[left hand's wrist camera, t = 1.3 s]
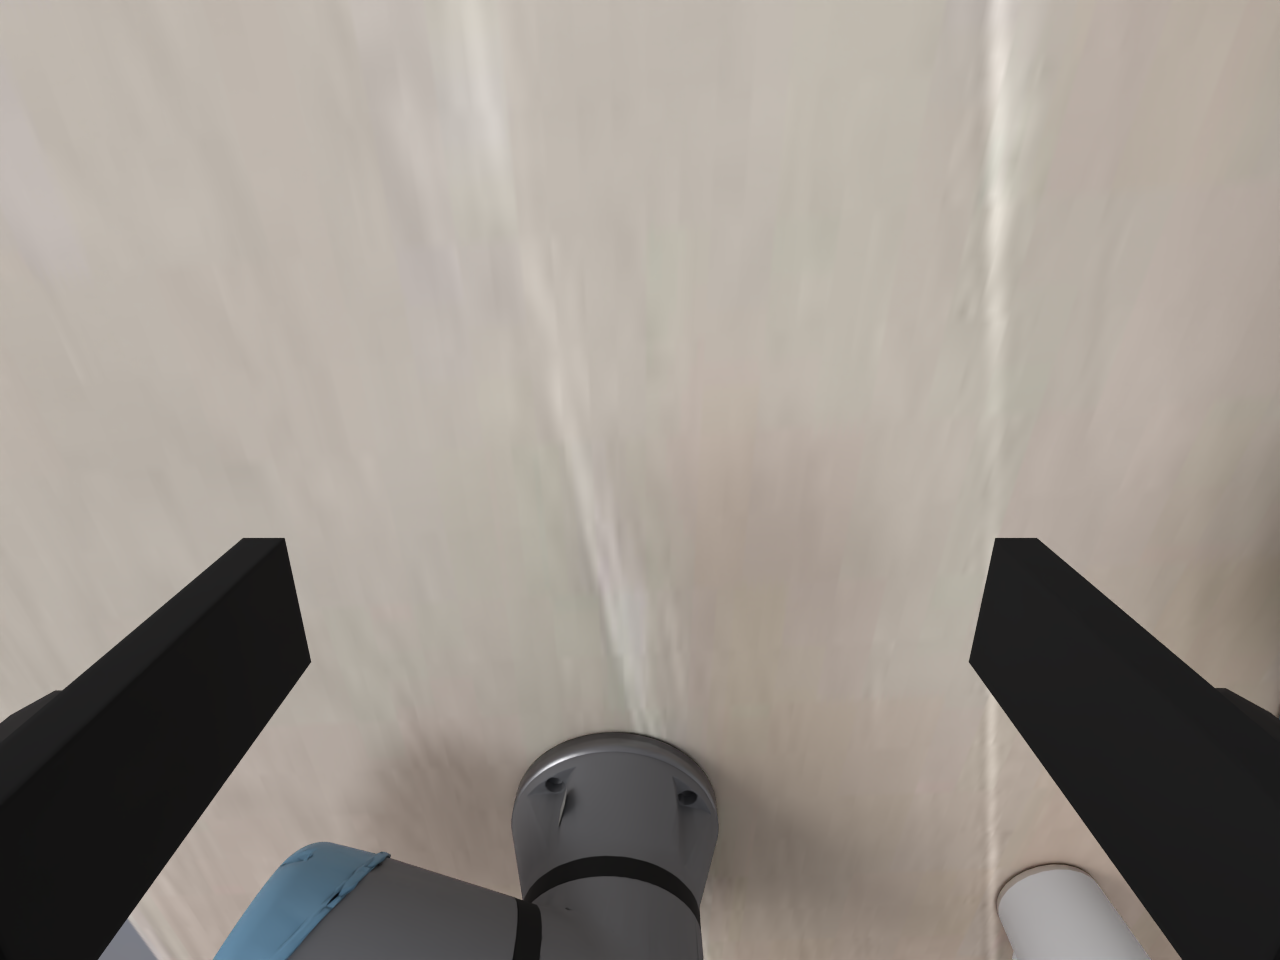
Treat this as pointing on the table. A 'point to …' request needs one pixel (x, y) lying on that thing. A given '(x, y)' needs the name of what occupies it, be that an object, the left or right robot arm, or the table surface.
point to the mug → (1063, 918)
